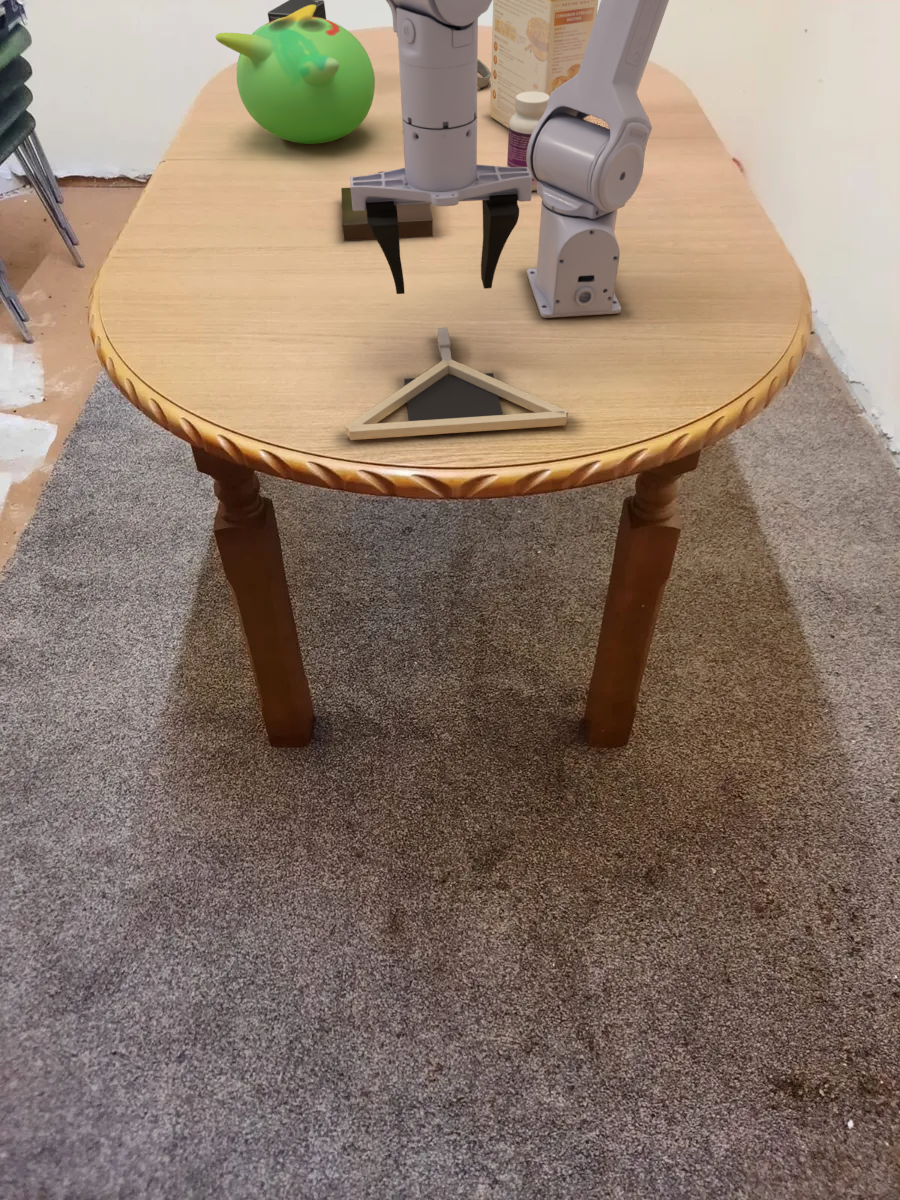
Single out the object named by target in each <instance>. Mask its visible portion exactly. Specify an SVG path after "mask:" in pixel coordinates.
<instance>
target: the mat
mask: <svg viewBox="0 0 900 1200" xmlns="http://www.w3.org/2000/svg"><path fill="white" fill-rule="evenodd" d="M484 374H485V375H488V376H490V377H492V378H494V379H495V376H494V375H495V374H494V372H488V373H487V372H486V373H484ZM416 378H417V377H409V378H404V386H405V385H407V384H408V383H410V382H411V381H413V380H414V379H416ZM406 407H407V416H408V421H421V420H436V419H451V418H465V417H480V416H495V415H504V413H503V409H502V405H501V401H500V396H498V395H496V394H493V393H491V392H489V391H487V390H485V389H482V388H480V387H478V386H476V385H474V384H471V383H469V382H467V381H465V380H463V379H460V378H458V377H456V376H454V375H445V376H444V377H442V378H441V379H439V380H438V381H437V382H435V383H434V384H432V385H431V386H429V387H428V388H426V389H425V390H424V391H422V392H421V393H419V394H418V395H416V396H415V397H413V398H412V399H411V400H409V401H408V402H406Z"/></svg>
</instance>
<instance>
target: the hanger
mask: <svg viewBox="0 0 900 1200" xmlns="http://www.w3.org/2000/svg"><path fill="white" fill-rule="evenodd" d="M436 340H437V347H438V352H439V356H440V358H441V360H440V361H439V362H438V363H436V364H435V365H433V366H432V367H430V368H429V369H428V370H426V371H425V372H422V374H420V375H418V376H417V377H415V378H416V379H414V380H413V381H411V382H410V383H408V384H407V385H405V384H404V386H402V387H401V388H399V389H398V390H397V391H395V392H393V393H392V394H391V395H389V396H388V397H386V398H384V400H381V401H380V402H379V403H377V404H376V405H374V406H373V407H371V408H370V409H368V410H367V411H366V412H364V413H362V414H361V415H359V416H357V418H355V419H354V420H352V421H351V422H349V423H348V424H345V426H344V427H345V435H346V436H348V437H349V441H355V440H357V441H359V440H369V439H370V440H371V439H372V440H374V439H385V438H401V437H417V436H430V435H443V434H457V433H474V432H489V431H504V430H516V429H530V428H533V429H534V428H546V427H560V426H561V427H562V426H566V425H567V421H568V420H569V419H568V418H569V410H567V409H564V408H563V407H561V406H558V405H555V404H553V403H551V402H549V401H546V400H544V399H542V398H539V397H538V396H536V395H533V394H531V393H528V392H526V391H524V390H522V389H519V388H517V387H515V386H513V385H510V384H508V383H506V382H503V381H501V380H499V379H497V378H495V377H494V378H492V377H490V376H488V375H485V374H486V373H483V372H481V371H479V370H476V369H475V368H472V367H469V366H467V365H465V364H463V363H461V362H459V361H456V360H454V359H452V352H451V351H452V350H451V345H452V343H451V339H450V334H449V328H448V327H437V328H436ZM448 374H449V375H450V376H456V377H458V378H460V379H463V380H465V381H467V382H469V383H471V384H474V385H476V386H478V387H480V388H482V389H485V390H487V391H489V392H491V393H493V394H496V395H498V396H499V398H502V399H505V400H507V401H509V402H511V403H513V404H515V405H517V406H520V407H522V408H525V409H526V410H529V411H530V412H528V413H527V412H526V413H512V414H511V413H510V414H503V415H495V416H480V417H465V418H451V419H436V420H421V421H409V420H408V421H407V420H406V421H394V422H380V421H382V420H383V419H386V417H387V416H389V415H391V414H393V412H395V411H396V410H398V409H399V408H401V407H402V406H403V405H405V404H407V402H408V401H409V400H411V399H412V398H413V397H415V396H416V395H418V394H419V393H421V392H422V391H424V390H425V389H426V388H428V387H429V386H431V385H432V384H434V383H435V382H437V381H438V380H439V379H441V378H442V377H444V376H448Z"/></svg>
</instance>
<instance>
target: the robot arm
mask: <svg viewBox="0 0 900 1200" xmlns="http://www.w3.org/2000/svg"><path fill="white" fill-rule="evenodd" d="M669 1H670V0H600V3H599V5H598V8H597V15H596V18H595V22H594V25H593V28H592V31H591V34H590V38H589V41H588V44H587V47H586V50H585V54H584V57H583V60H582V63H581V66H580V70H579V72H578V74H577V75H575V76H574V77H573V78H571V79H570V80H568V81H567V82H565V83H564V84H562V85H561V86H559V87H558V88H556V89H555V90H554V91H552V93H551V94H550V97H549V101H548V104H547V107H546V110H545V112H544V114H543V116H542V118H541V119H540V121H539V122H538V124H537V125H536V127H535V128H534V130H533V132H532V134H531V137H530V140H529V143H528V148H527V156H526V160H527V167H507V166H501V165H500V166H499V165H488V164H478V163H477V162H478V158H477V157H478V87H477V76H478V72H477V59H478V56H479V55H478V54H479V53H478V51H479V50H478V49H479V47H478V46H479V45H478V44H479V42H478V41H479V18H480V16H481V15H483V14H485V13H486V12H487V11H488V10H489V8H490V6H491V4H492V3H493V0H385V2H386V3H387V5H388V6H389V8H390V11H391V15H392V16H391V17H392V26H393V27H392V29H393V30H392V31H393V33H396V38H397V46H398V47H397V48H398V65H399V67H398V68H399V79H400V80H399V81H400V82H399V83H400V84H399V85H400V103H401V119H402V121H401V122H402V139H403V140H402V142H403V159H404V160H403V161H404V167H402V168H396V169H391V170H387V171H381V172H382V173H379V172H377V173H372V174H365V175H357V176H350V177H349V184H350V185H349V186H350V187H349V188H351V197H352V207H353V211H364V210H366V209H367V221H368V225H369V227H370V229H371V232H372V234H373V235H374V237H375V238H376V239H375V240H376V242H377V243H378V245H379V247H380V249H381V250H382V253H383V255H384V257H385V259H386V261H387V265H388V266H389V269H390V272H391V275H392V278H393V283H394V286H395V287H394V288H395V292H396V293H395V294H397V295H405V282H404V281H405V280H404V273H403V267H402V266H403V265H402V260H401V246H400V238H399V225H398V217H397V207H396V205H407V204H425V203H429V204H431V205H432V206H433V207H453V206H456V205H458V204H459V202H475V201H482V204H481V205H482V246H481V247H482V248H481V261H480V276H481V277H480V278H481V283H482V287H483V289H484V290H485V289H486V290H487V289H492V287H493V283H494V278H495V273H496V270H497V266H498V264H499V263H498V262H499V260H500V257H501V255H502V252H503V249H504V247H505V245H506V243H507V242H508V239H509V237H510V236H511V233H512V231H514V228H515V227H516V225H517V223H518V221H519V218H520V208H519V207H520V206H519V205H518V202H531V201H532V192H533V191H532V178H533V179H534V180H535V181H536V182H538V184H537V190H536V195H537V196H539V197H540V198H541V205H540V206H541V207H540V208H541V209H540V219H539V220H540V221H539V232H538V233H539V235H538V248H537V249H538V250H537V261H536V267H529V268H528V269H527V270H526V276H527V279H528V282H529V285H530V288H531V290H532V294H533V297H534V300H535V302H536V305H537V308H538V311H539V315H540V316H541V318H545V319H549V318H566V317H581V316H599V315H616V314H620V313H621V312H622V306H621V304H620V301H619V300H618V298H617V295H616V293H615V289H616V282H617V276H618V269H619V261H620V257H621V256H620V254H621V253H620V250H621V249H620V245H619V242H618V239H617V237H616V232H615V230H616V223H617V217H618V210H619V209H621V208H624V207H625V205H626V203H628V201H629V200H630V199H632V197H633V195H634V194H635V192H636V190H637V189H638V187H639V184H640V183H641V179H642V177H643V172H644V168H645V155H646V149H647V144H648V141H649V138H650V135H651V132H652V130H653V125H652V123H651V120H650V118H649V115H648V114H647V112H646V111H645V108H644V106H643V104H642V102H641V100H640V98H639V95H638V90H639V87H640V84H641V81H642V78H643V76H644V73H645V69H646V67H647V64H648V61H649V59H650V56H651V53H652V51H653V48H654V44H655V42H656V38H657V36H658V32H659V31H660V28H661V25H662V21H663V19H664V16H665V14H666V10H667V7H668V5H669ZM589 116H591V117H594V118H597V119H598V120H599V119H600V120H601V121H603V122H605V123H606V124H607V126H608V128H607V127H606V126H603V125H600V124H597V123H594V122H592V121H589V120H587V117H589ZM584 118H586V120H584Z"/></svg>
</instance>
